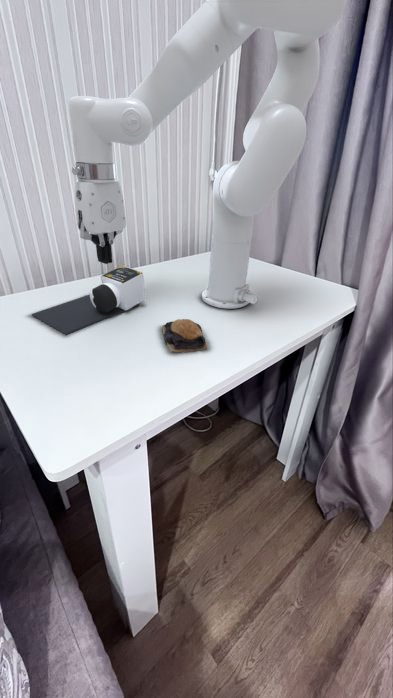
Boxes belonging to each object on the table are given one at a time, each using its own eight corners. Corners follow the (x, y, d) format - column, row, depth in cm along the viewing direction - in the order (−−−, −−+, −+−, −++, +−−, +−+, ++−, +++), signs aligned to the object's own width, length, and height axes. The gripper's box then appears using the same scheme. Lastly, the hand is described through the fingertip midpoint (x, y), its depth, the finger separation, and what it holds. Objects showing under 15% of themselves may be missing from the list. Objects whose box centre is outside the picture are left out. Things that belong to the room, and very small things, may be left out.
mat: (137, 305, 81) (137, 304, 81) (65, 335, 68) (65, 333, 67) (103, 291, 88) (103, 289, 88) (31, 315, 74) (31, 313, 74)
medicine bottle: (143, 271, 77) (104, 292, 70) (147, 298, 82) (110, 320, 74) (122, 265, 81) (82, 284, 73) (126, 291, 85) (90, 311, 78)
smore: (159, 328, 72) (159, 312, 70) (197, 325, 74) (197, 310, 72) (168, 354, 64) (168, 337, 62) (210, 349, 65) (211, 333, 64)
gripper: (75, 176, 60) (88, 273, 70) (136, 173, 70) (140, 259, 80) (52, 172, 64) (67, 265, 74) (113, 170, 74) (119, 252, 84)
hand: (105, 261), depth 77 cm, fingers closed
